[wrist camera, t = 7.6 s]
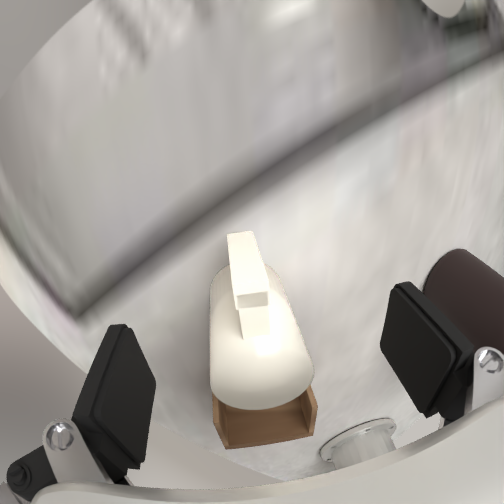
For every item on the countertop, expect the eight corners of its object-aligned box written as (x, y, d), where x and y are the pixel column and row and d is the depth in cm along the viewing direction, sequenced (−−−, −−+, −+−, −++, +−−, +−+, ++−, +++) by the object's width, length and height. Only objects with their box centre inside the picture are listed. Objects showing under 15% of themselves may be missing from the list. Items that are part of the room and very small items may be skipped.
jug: (282, 314, 21) (311, 400, 14) (216, 324, 20) (220, 414, 13) (277, 214, 17) (319, 281, 10) (196, 225, 17) (183, 301, 10)
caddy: (297, 384, 25) (313, 435, 20) (221, 396, 24) (225, 449, 19) (298, 350, 23) (317, 406, 17) (211, 363, 22) (213, 422, 17)
